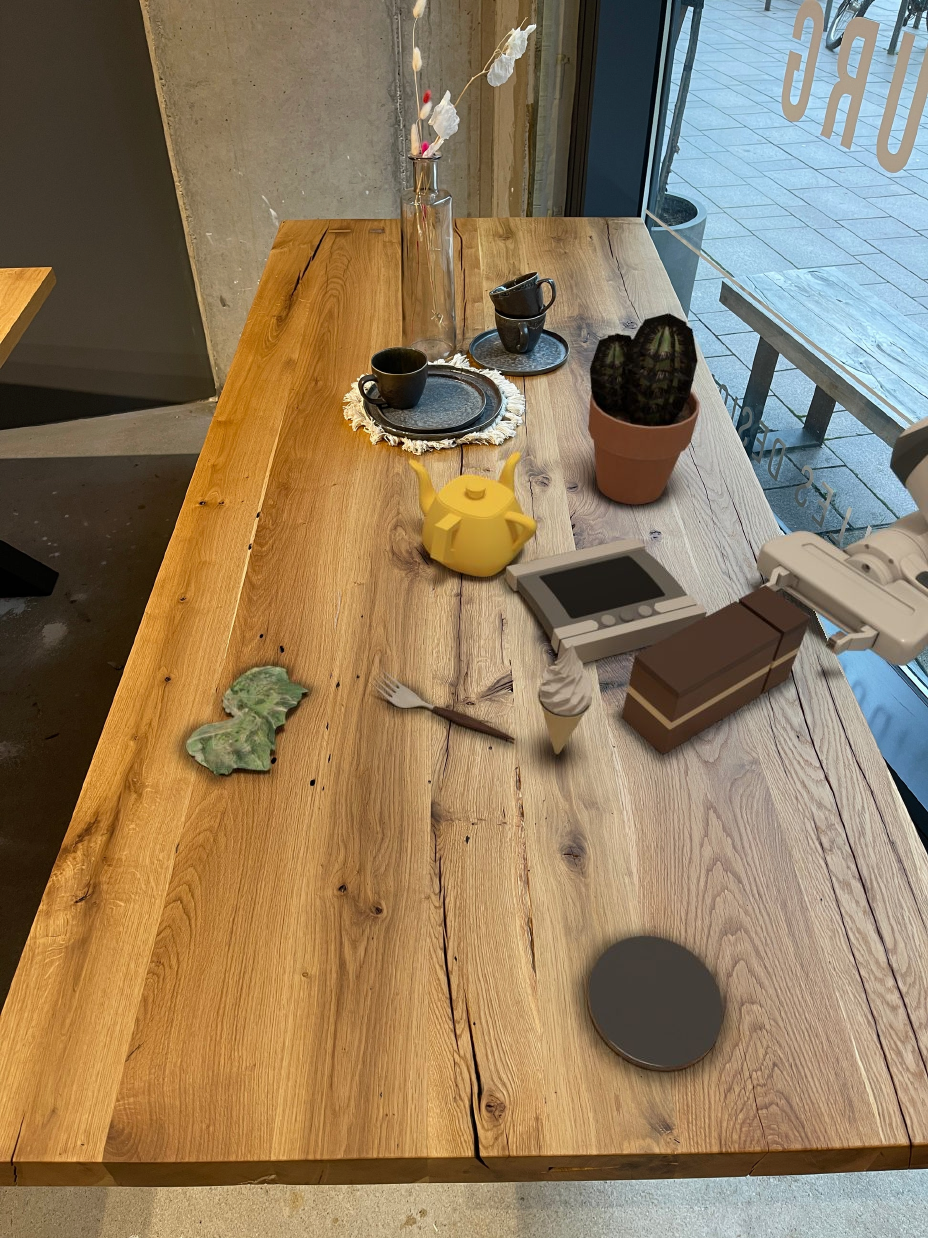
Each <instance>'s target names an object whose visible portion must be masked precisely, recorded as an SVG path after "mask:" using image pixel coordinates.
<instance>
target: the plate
mask: <svg viewBox="0 0 928 1238" xmlns="http://www.w3.org/2000/svg"><path fill="white" fill-rule="evenodd" d="M591 969H592V970H591V973H590V975H589V980H588V985H587V1006H588V1010H589V1015H590V1018H591V1020H592V1023H593V1025H594V1027H595V1030H596V1031H597V1032H598V1034H599V1035H600V1037H601V1038H602V1040H603V1041H604V1042H605V1043H606V1044H607V1046H608V1047H609V1048H610V1049H612V1051H614V1052H615V1053H616V1054H617V1055H618V1056H620V1057H621V1058H623V1059H624V1060H626V1061H628V1062H629V1063H631V1064H633V1065H635V1066H637V1067H640V1068H644V1069H648V1070H652V1071H657V1072H672V1071H679V1070H683V1069H686V1068H688V1067H690V1066H693V1065H695V1064H696V1063H698V1062H699V1061H700V1060H702V1059H703V1058H704V1057H706V1055H707V1054H709V1052H710V1051H711V1050H712V1048H713V1046H714V1045H715V1044H716V1041H717V1039H718V1037H719V1035H720V1032H721V1029H722V1024H723V1018H724V1006H723V1000H722V996H721V991H720V989H719V986H718V984H717V982H716V980H715V978H714V976H713V975H712V973H711V971H710V970H709V968H708V967H707V966H706V964H704V962H703V961H702V960H701V959H700V958H699V957H698V956H697V955H696V954H694V952H692V951H690V949H687V948H686V947H685V946H683V945H681V944H679V943H677V942H675V941H672V940H670V939H667V938H664V937H659V936H653V935H638V936H637V935H636V936H632V937H626V938H624V939H622V940H619V941H617V942H614V943H613V944H612V945H610V946H609V947H608V948H607V949H605V950H604V951H603V952H602V953H601V954H600V956H599V957H598V959H596V962H595V963H594V965H593V967H592V968H591Z"/></svg>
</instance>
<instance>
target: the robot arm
mask: <svg viewBox="0 0 928 1238" xmlns="http://www.w3.org/2000/svg"><path fill="white" fill-rule="evenodd" d="M889 468H890V470H891V471H892V473H893V474H894V475H895V477H896V478H897V479H898V481H899V482H900V483H901V485H902V486H903V488H904V489H906V490H907V492H908V494H909V495H910V497H911V499H912V500H913V502H914V503H915V505H916V507H917V509H916V510H914V511H912V512H910V513H908V514H905V515H904V516H902V517H900V518H897V519H896V520H895V521H893V522H891V524H889V525H888V526H887V527H886V528H881V529H878V530H875V531H874V532H872V533H870V534H868V535H866V536H864V537H862V538H860V539H859V540H857V541H855V542H853V543H851V544H849V545H847V546H846V547H844V548H843V549H841V548H839V547H838V546H837V545H835V544H832V543H830V542H829V541H827V540H825V539H824V538H823V537H822V536H820V535H818V534H816V533H813V532H810V531H808V530H798V531H797V530H796V531H794V532H790V533H786V534H783V535H781V536H780V535H779V536H777V537H775V538H772V539H770V540H768V541H766V542H764V543H763V544H762V546H761V548H760V550H759V553H758V556H757V560H756V571H757V572H758V573H759V574H760V575H762V576H763V577H765V578H766V579H768V580H769V581H768V582H766V583H764V584H762V585H761V586H760V587H762V586H764V585H766V586H768V587H769V588H771V589H772V590H774V591H775V592H776V593H778V594H780V591H781V590H784V591H785V592H787V593H788V594H789V595H791V596H792V597H793V598H795V599H797V600H798V601H800V602H801V603H802V604H804V605H805V606H807V607H808V608H809V609H811V610H812V611H814V612H815V613H817V614H818V615H820V616H821V617H822V618H824V619H825V620H827V621H828V622H830V623H831V624H832V625H834V626H835V627H837V628H838V629H839V630H838V631H836V632H835V633H832V634H831V635H830V636H829V637H828V638H827V641H826V642H827V643H826V644H825V648H826V649H827V650H829V652H831V653H832V654H834V655H835V656H839V655H841V654H843V653H844V652H846V651H847V652H866V651H867V650H870V651H871V652H872V653H874V654H875V655H877V656H878V657H880V658H881V659H882V660H883V661H885V662H887V663H888V664H889V665H891V666H897V667H899V666H901V667H905V666H907V665H909V664H910V663H912V662H913V661H914V660H915V659H916V658H918V657H919V656H920V655H921V654H922V653H923V652H924V651H925V650H926V647H927V646H928V415H927V416H925V417H923V418H920V419H919V420H918V421H915V422H914V423H913V424H911V425H910V426H909V427H908V428H906V429H905V430H904V431H902V433H901V434H900V435H899V436H897V438H896V439H895V442H894V444H893V448H892V451H891V456H890V462H889Z"/></svg>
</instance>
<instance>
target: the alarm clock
mask: <svg viewBox="0 0 928 1238" xmlns="http://www.w3.org/2000/svg"><path fill="white" fill-rule="evenodd" d="M505 578H506V579H505V580H506V581H505V582H506V583H507V584H508V585H509V586H510V588H511V589H512V590H513V592H516V591H518V592H519V593H520V595H522V597H523V598H524V599H525V601H526V603H528V605H529V606H530V608H531V609H532V611H533V612H534V614H535V615H536V616H537V619H538V620H539V622H540V624H541V625H542V627H543V629H544V630H545V632H546V634H547V635H548V637H549V639H550V640H551V643H550V645H551V647H552V648H553V650H554V652H555V654H558V655H557V660H556V661H558V660H560V659H561V658H562V656H563V655H564V654H565V653H566V651H567V650H568V649H569V648H570V647H571V645H573V647H574V650H575V652H576V654H577V657H578V659H579V660H580V661H581V662H582V663H583V664H587V663H591V662H593V661H598V660H601V659H605V658H608V657H612V656H616V655H620V654H624V653H627V652H631V651H635V650H638V649H643V648H646V647H651V646H652V645H654V644H656V643H658V642H660V641H662V640H664V639H666V638H667V637H669V636H671V635H673V634H675V633H677V632H679V631H680V630H682V629H684V628H686V627H688V626H690V625H692V624H694V623H695V622H697V621H699V620H701V619H703V618H705V617H707V614H708V610H707V608H705V606H704V604H702V603H699V604H698V603H697V602H696V601H695V599H694V597H692V595H691V594H688V593H687V592H686V590H685V589H684V588H683V587H682V586H681V585H680V583H679V582H678V581H677V579H676V578H675V577H674V576H673V575H672V574H671V573H670V572H669V571H668V569H667V568H666V567H664V565H662V564H661V562H659V561H658V560H657V559H656V558H655V557H654V556H653V555H651V554H650V553H649V552H648V551H647V550H646V545H645V544H644V542H642V541H640V540H639V539H638V538H637V537H635V536H634V537H630V538H626V539H622V540H616V541H613V542H605V543H601V544H596V545H593V546H588V547H584V548H579V549H575V550H570V551H566V552H561V553H558V554H553V555H548V556H544V557H540V558H535V559H531V560H529V561H525V562H520V563H517V564H512V565H507V566H506V567H505Z"/></svg>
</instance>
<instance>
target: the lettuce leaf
mask: <svg viewBox="0 0 928 1238" xmlns="http://www.w3.org/2000/svg"><path fill="white" fill-rule="evenodd" d="M289 677H290V676H288V675H287V669H286V668H282V667H280V666H276V665H275V666H272V665H265V666H260V667H252V668H251V669H249V670H247V672H246V673H244V672H243V673H242V674H240V677H238V678H237V679H236V680H235V681H234V683H232V685H231V686H230V687H229V688H228V689H227V690H226V691H225V693H224V694H223V696H222V697H221V699H222V700H223V701H222V707H223V708H224V709H225V712H226V713H227V714H228V713H231V715H232V716H233V717H232V718H230V719H228V720H221V721H217V722H212V723H207V724H204V725H202V726H200V727H199V728H197V729H196V730H194V731H193V732H192V734H191V735H190V737H189V738H188V739H187V741H186V744H185V748H186V751H187V752H188V754H189V755H191V757H194V759H195V761H197V762H198V763H199V764H201V765H202V766H205V767H206V768H208V769H209V771H210V772H213V774H214V775H215V777H219V775H220V774H225V775H226V776H227V775H230V773H232V771H233V769H238V768H239V769H246V770H255V771H268V770H270V769H271V768H272V767H271V754H270V753H271V750H273V751H276V750H277V748H278V746H277V744H276V735H275V733H276V732H275V731H276V729H277V727H279V726H281V725H285V724H286V723H287V721H286V714H287V712H288V710H289V709H291V708H293V707H296V706H297V705H298V702H299V701H301V700H302V695H303V693H307V692H308V693H309V690H308V689H307V688H306V687H302V686H301V685H300V684H299V683H297V684H296V683H293V682H292V681H290V679H289Z"/></svg>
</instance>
